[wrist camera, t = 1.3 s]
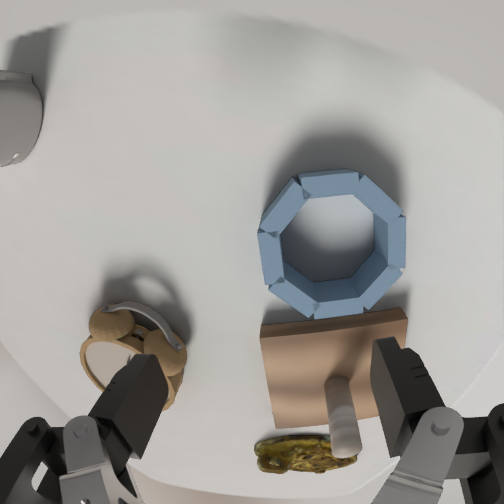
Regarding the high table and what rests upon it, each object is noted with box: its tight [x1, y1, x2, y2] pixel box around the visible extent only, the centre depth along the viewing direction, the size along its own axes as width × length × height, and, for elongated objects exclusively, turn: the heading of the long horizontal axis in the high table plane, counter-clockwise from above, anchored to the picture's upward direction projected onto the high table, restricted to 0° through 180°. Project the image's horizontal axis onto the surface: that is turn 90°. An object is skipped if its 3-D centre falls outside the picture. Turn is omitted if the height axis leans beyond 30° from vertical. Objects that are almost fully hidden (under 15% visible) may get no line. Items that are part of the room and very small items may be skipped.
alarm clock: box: [80, 301, 187, 411], centre depth 28 cm, size 11×5×15 cm
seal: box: [254, 435, 357, 474], centre depth 32 cm, size 9×5×15 cm
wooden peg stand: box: [260, 308, 408, 458], centre depth 23 cm, size 13×13×10 cm
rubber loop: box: [257, 169, 406, 319], centre depth 22 cm, size 10×10×4 cm
